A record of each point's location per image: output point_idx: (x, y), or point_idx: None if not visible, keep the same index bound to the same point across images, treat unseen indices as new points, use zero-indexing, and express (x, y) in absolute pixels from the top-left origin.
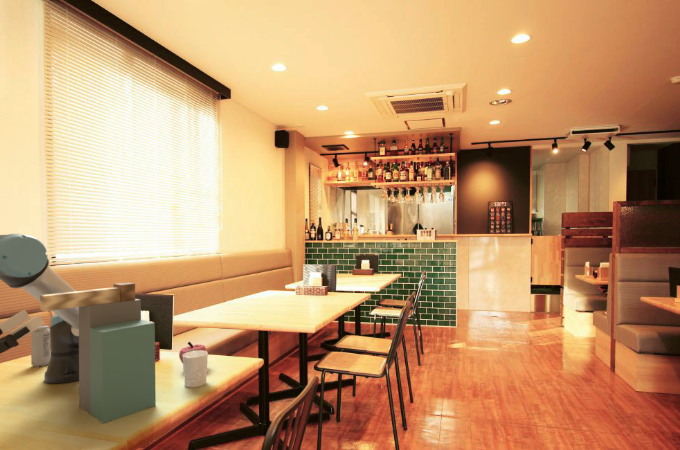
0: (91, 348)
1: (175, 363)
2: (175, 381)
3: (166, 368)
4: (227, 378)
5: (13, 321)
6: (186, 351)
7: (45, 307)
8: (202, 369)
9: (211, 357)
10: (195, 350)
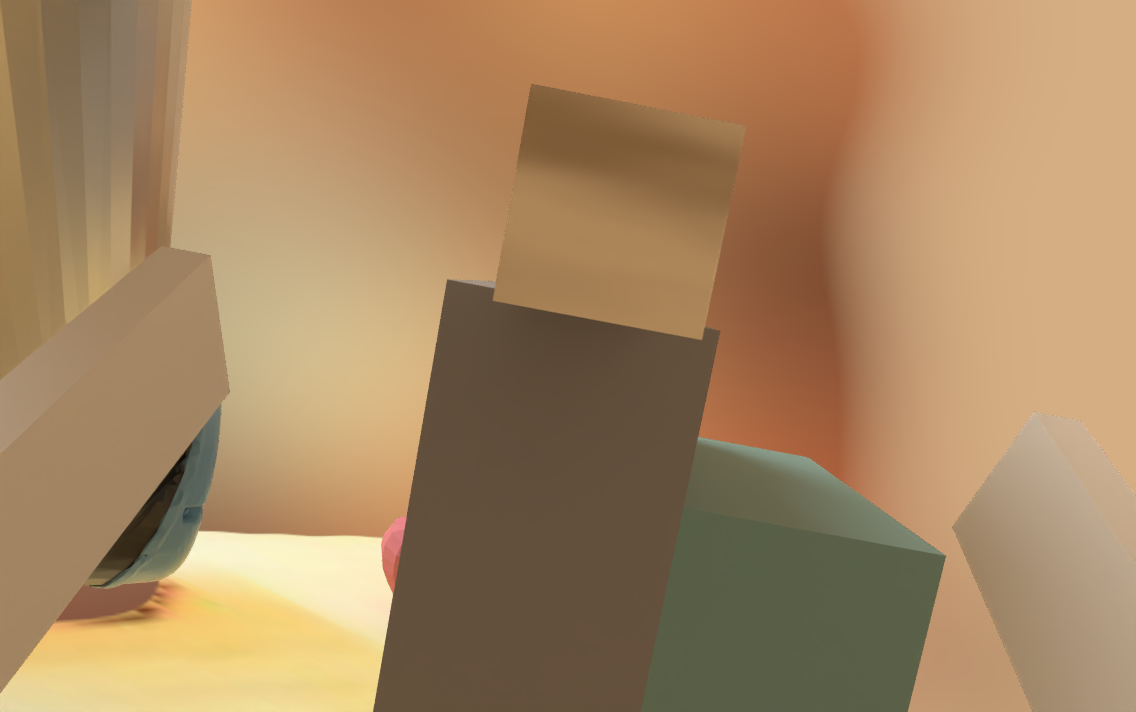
0: (679, 669)
1: (285, 591)
2: None
3: (298, 624)
4: None
5: (83, 470)
6: None
7: (710, 288)
8: None
9: (377, 548)
10: None
